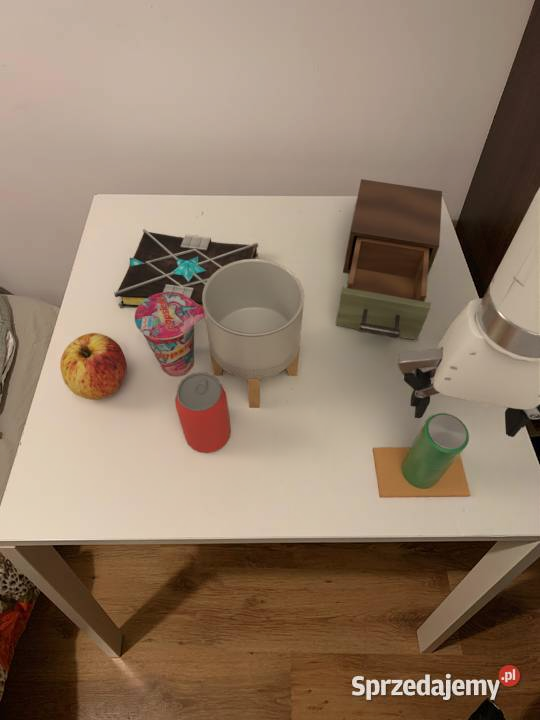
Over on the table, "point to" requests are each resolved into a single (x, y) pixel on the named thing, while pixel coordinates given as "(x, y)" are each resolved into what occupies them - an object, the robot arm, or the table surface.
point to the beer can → (203, 412)
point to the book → (176, 266)
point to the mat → (397, 485)
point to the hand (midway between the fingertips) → (462, 415)
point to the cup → (170, 329)
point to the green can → (434, 450)
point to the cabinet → (396, 217)
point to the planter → (253, 321)
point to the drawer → (386, 289)
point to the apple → (93, 366)
